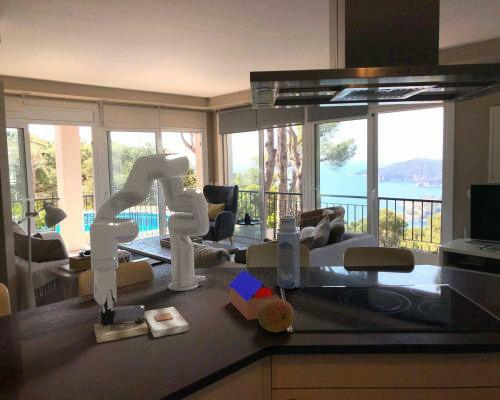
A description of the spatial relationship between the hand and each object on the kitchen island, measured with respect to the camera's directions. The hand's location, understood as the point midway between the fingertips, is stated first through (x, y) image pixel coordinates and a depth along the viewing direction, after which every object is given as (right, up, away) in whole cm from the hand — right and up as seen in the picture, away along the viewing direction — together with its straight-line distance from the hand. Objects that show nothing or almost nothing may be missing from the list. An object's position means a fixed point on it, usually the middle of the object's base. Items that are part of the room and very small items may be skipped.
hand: (107, 324), depth 117 cm
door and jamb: (+8, -3, +6) cm, 11 cm away
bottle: (+59, +1, +49) cm, 77 cm away
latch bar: (+3, -1, +5) cm, 6 cm away
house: (+44, -2, +22) cm, 49 cm away
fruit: (+50, -3, +3) cm, 50 cm away
